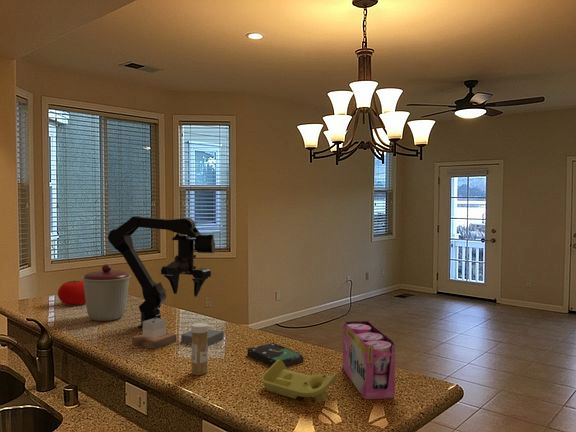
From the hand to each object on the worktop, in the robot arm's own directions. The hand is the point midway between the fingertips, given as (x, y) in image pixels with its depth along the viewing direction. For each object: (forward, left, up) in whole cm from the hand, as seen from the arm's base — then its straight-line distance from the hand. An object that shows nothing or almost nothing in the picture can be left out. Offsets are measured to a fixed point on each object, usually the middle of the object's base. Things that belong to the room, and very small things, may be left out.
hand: (185, 295), depth 182 cm
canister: (-35, -4, -12) cm, 37 cm away
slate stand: (+15, -10, -12) cm, 22 cm away
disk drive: (+45, -14, -13) cm, 48 cm away
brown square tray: (+3, -20, -12) cm, 24 cm away
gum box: (+75, -19, -12) cm, 78 cm away
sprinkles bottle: (+32, -35, -12) cm, 49 cm away
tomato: (-65, +7, -12) cm, 67 cm away
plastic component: (+63, -35, -12) cm, 73 cm away
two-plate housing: (+3, -20, -10) cm, 22 cm away
